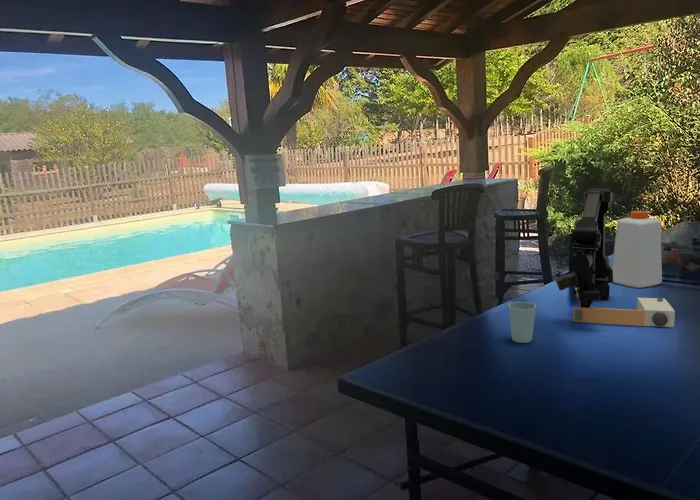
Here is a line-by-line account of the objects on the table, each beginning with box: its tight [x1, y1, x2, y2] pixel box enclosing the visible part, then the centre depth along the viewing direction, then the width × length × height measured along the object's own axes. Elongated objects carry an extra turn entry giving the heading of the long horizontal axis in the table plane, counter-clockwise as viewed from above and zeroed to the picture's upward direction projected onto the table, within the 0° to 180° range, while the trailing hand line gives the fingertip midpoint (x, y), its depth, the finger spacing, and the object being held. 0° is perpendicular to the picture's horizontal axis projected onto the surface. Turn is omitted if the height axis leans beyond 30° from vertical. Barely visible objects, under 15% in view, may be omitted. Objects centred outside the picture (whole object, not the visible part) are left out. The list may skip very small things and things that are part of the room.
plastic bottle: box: [611, 210, 663, 289], centre depth 220 cm, size 15×15×28 cm
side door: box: [572, 306, 645, 327], centre depth 175 cm, size 2×20×5 cm, turn 71°
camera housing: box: [636, 297, 676, 328], centre depth 177 cm, size 8×15×6 cm, turn 162°
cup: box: [508, 301, 537, 344], centre depth 165 cm, size 8×8×10 cm
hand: (583, 314), depth 180 cm, fingers closed
